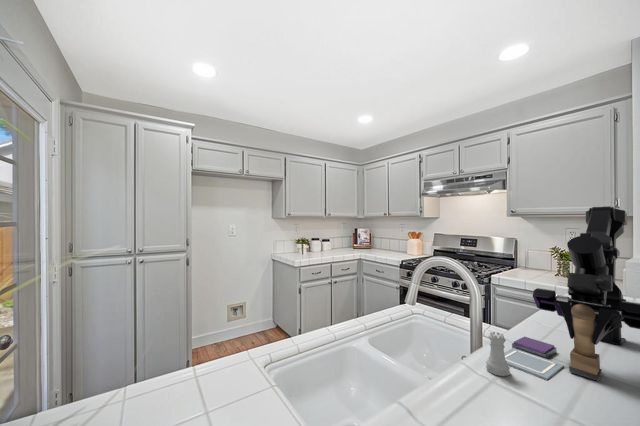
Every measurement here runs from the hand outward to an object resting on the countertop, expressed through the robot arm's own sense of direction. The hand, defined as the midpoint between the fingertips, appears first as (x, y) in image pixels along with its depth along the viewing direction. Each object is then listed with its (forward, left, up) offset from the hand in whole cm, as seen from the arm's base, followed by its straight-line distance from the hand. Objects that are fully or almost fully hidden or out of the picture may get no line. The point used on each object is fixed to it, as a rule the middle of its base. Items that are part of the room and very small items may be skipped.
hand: (582, 340), depth 57 cm
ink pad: (-5, -11, -7) cm, 14 cm away
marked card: (+4, -9, -7) cm, 12 cm away
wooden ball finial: (-1, 0, -7) cm, 7 cm away
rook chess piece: (+14, -11, -8) cm, 19 cm away
